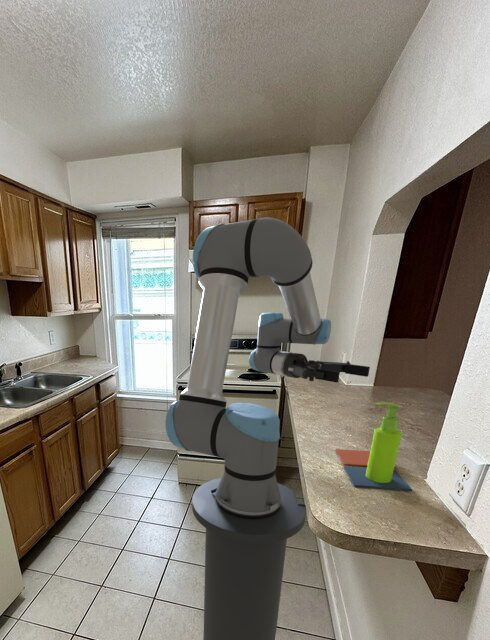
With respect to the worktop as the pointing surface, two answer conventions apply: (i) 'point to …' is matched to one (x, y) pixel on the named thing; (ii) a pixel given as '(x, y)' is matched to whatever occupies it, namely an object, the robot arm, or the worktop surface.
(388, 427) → the soap dispenser
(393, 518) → the worktop surface
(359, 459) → the terracotta mat
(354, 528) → the worktop surface
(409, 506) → the worktop surface
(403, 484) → the slate mat
